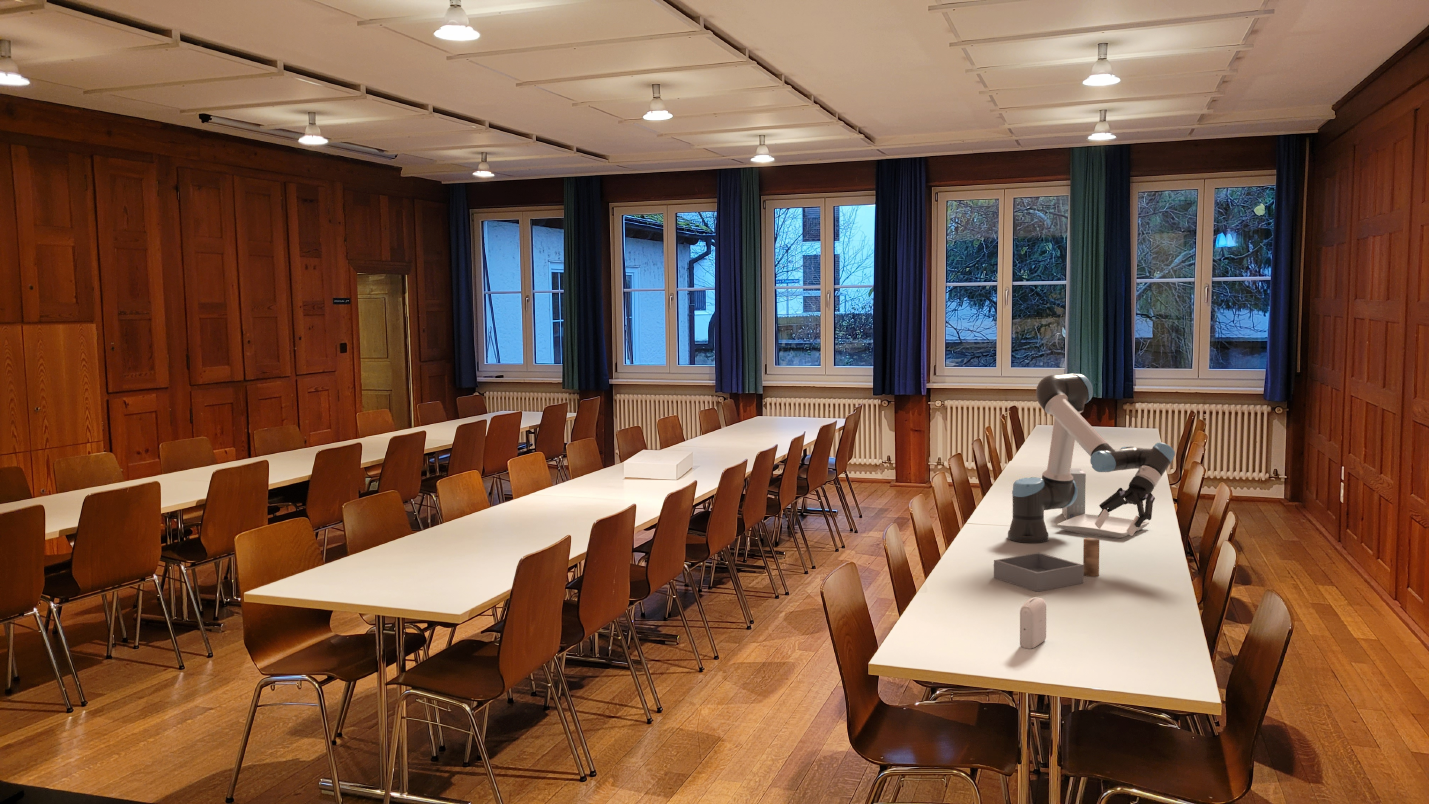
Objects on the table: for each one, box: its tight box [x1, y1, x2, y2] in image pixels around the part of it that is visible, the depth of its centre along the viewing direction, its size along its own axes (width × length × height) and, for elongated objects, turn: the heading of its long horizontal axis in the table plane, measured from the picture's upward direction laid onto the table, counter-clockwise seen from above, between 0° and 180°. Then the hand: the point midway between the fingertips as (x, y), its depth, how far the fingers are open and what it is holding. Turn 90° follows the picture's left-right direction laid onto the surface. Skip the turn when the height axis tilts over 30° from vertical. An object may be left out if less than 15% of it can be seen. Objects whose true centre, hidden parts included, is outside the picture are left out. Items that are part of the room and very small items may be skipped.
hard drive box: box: [1061, 467, 1087, 520], centre depth 435 cm, size 16×8×20 cm, turn 168°
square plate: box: [1056, 513, 1150, 539], centre depth 409 cm, size 27×27×4 cm
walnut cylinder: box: [1082, 537, 1100, 578], centre depth 344 cm, size 5×5×12 cm
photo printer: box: [1019, 597, 1047, 650], centre depth 277 cm, size 10×4×12 cm, turn 140°
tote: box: [993, 552, 1084, 593], centre depth 339 cm, size 20×20×6 cm
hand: (1112, 529), depth 348 cm, fingers open, 13 cm apart
